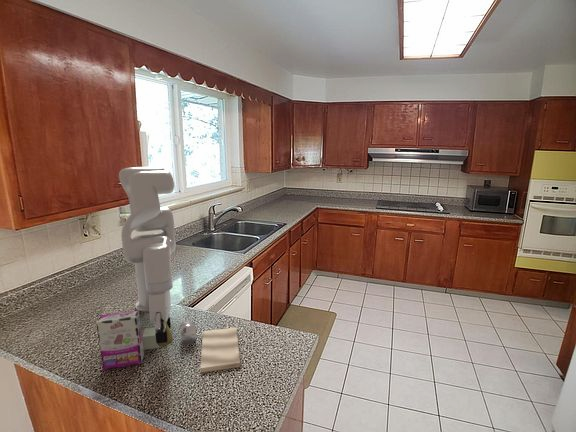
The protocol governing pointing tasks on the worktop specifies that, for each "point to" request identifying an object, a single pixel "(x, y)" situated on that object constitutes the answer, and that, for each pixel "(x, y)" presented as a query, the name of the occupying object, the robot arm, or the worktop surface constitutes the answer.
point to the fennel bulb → (169, 336)
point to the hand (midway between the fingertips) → (163, 335)
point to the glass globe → (188, 332)
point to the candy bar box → (120, 339)
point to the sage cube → (149, 339)
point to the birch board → (219, 350)
